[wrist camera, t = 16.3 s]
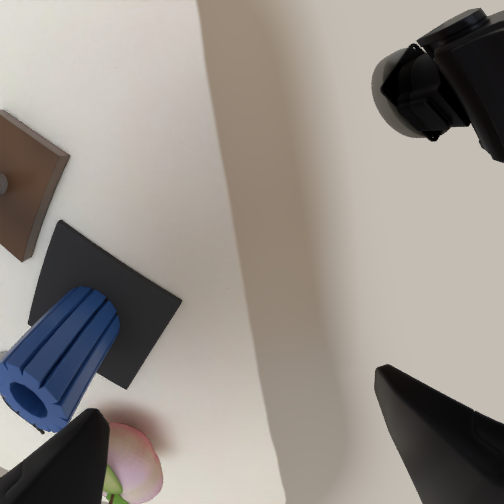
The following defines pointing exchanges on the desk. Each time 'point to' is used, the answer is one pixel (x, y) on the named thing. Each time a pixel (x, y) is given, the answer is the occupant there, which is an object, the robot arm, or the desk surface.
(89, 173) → the desk surface
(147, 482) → the decorative fruit
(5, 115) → the dowel stand
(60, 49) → the desk surface
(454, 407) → the robot arm
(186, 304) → the desk surface
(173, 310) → the coaster
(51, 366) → the grooved hollow cylinder
